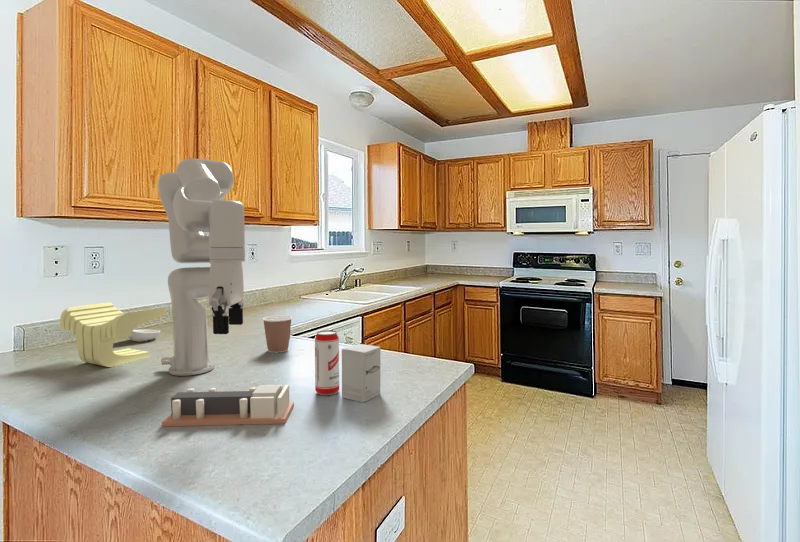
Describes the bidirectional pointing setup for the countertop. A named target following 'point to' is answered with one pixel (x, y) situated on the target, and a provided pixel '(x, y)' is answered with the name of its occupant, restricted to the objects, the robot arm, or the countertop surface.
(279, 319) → the coffee cup
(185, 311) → the robot arm
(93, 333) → the slatted curved stool
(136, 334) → the spoon rest
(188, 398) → the grey post with base
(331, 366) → the beer can
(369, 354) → the supplement box
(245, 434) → the countertop surface
